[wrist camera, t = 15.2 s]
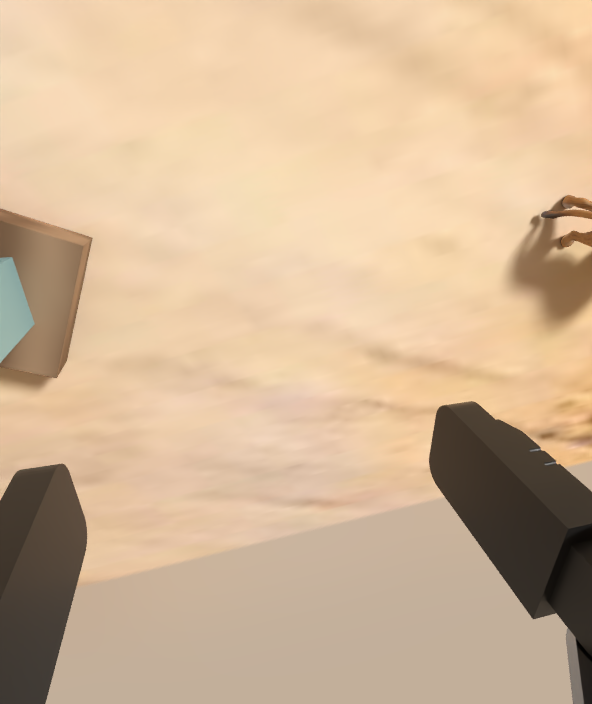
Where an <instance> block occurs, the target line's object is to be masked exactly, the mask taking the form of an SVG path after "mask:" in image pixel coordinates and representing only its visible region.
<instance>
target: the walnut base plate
mask: <svg viewBox="0 0 592 704" xmlns="http://www.w3.org/2000/svg"><path fill="white" fill-rule="evenodd" d="M91 242H92V238H91V237H88V236H85V235H82V234H78V233H75V232H72V231H69V230H66V229H63V228H59V227H56V226H53V225H50V224H47V223H44V222H41V221H37V220H34V219H31V218H28V217H25V216H22V215H19V214H15V213H12V212H9V211H6V210H3V209H0V258H6V257H12V258H13V261H14V264H15V267H16V270H17V273H18V276H19V279H20V282H21V285H22V288H23V291H24V294H25V297H26V300H27V303H28V306H29V309H30V312H31V315H32V317H33V320H34V323H35V324H34V325H33V327H32V328H31V329H30V330H29V331H28V332H27V333H26V334H25V336H24V337H23V338H22V339H21V340H20V341H19V342H18V343H17V345H16V346H15V347H14V348H13V349H12V350H11V351H10V352H9V354H8V355H7V356H6V357H5V358H4V359H3V360H2V361H1V363H0V367H4V368H9V369H13V370H18V371H23V372H28V373H33V374H38V375H43V376H48V377H53V378H57V377H58V375H59V373H60V371H61V370H62V368H63V366H64V365H65V363H66V361H67V357H68V352H69V347H70V342H71V337H72V333H73V328H74V323H75V318H76V313H77V309H78V304H79V299H80V294H81V290H82V285H83V280H84V275H85V270H86V266H87V261H88V256H89V251H90V246H91Z"/></svg>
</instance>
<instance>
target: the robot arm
mask: <svg viewBox="0 0 592 704" xmlns="http://www.w3.org/2000/svg"><path fill="white" fill-rule="evenodd" d="M429 465H430V470H431V474H432V477H433V479H434V481H435V483H436V485H437V486H438V488H439V489H440V491H441V492H442V493H443V495H444V496H445V497H446V499H447V500H448V502H449V503H450V504H451V506H452V507H453V509H454V510H455V511H456V513H457V514H458V516H459V517H460V518H461V520H462V521H463V523H464V524H465V525H466V527H467V528H468V529H469V531H470V532H471V534H472V535H473V536H474V538H475V539H476V541H477V542H478V543H479V545H480V546H481V547H482V549H483V550H484V552H485V553H486V554H487V556H488V557H489V559H490V560H491V561H492V563H493V564H494V565H495V567H496V568H497V570H498V571H499V573H500V574H501V575H502V577H503V578H504V579H505V581H506V582H507V583H508V585H509V586H510V588H511V589H512V590H513V592H514V593H515V595H516V596H517V598H518V599H519V600H520V602H521V603H522V604H523V606H524V607H525V608H526V610H527V611H528V613H529V614H530V615H531V617H532V618H533V619H536V618H540V617H544V616H547V615H551V614H555V613H557V614H558V616H559V617H560V618H561V619H562V621H563V622H564V623H565V625H566V626H567V627H568V629H567V634H566V644H567V653H568V662H569V671H570V680H571V689H572V698H573V704H592V492H591V491H590V490H589V489H588V488H587V487H586V486H584V485H583V484H582V483H581V482H580V481H579V480H578V479H576V478H575V477H574V476H573V475H572V474H571V473H570V472H568V471H567V470H566V469H565V468H564V467H563V466H561V465H560V464H558V465H557V464H556V460H554V459H553V458H552V457H551V456H550V455H549V454H548V453H546V452H545V451H541V449H540V447H539V446H538V445H537V444H536V443H535V442H534V441H533V440H531V439H530V438H529V437H528V436H527V435H526V434H524V433H523V432H522V431H520V430H518V429H516V428H514V427H512V426H511V425H509V424H507V423H505V422H503V421H501V420H495V419H494V418H493V417H492V416H491V415H490V414H489V413H488V412H486V411H485V410H484V409H483V408H482V407H481V406H480V405H479V404H477V403H476V402H472V401H471V402H464V403H457V404H450V405H444V406H441V407H439V409H438V410H437V413H436V419H435V425H434V431H433V438H432V444H431V450H430V456H429ZM86 545H87V527H86V521H85V517H84V514H83V511H82V508H81V505H80V502H79V499H78V496H77V494H76V491H75V488H74V485H73V482H72V479H71V476H70V473H69V470H68V468H67V467H66V466H65V465H64V464H57V465H50V466H43V467H37V468H30V469H23V470H19V471H18V472H17V473H16V474H15V475H14V477H13V478H12V480H11V482H10V484H9V486H8V488H7V489H6V491H5V493H4V495H3V497H2V499H1V500H0V704H45V702H46V699H47V695H48V692H49V687H50V684H51V680H52V676H53V673H54V669H55V665H56V661H57V657H58V653H59V650H60V646H61V642H62V639H63V635H64V631H65V627H66V623H67V620H68V616H69V612H70V608H71V605H72V601H73V597H74V593H75V589H76V586H77V582H78V578H79V574H80V571H81V567H82V563H83V559H84V555H85V551H86Z"/></svg>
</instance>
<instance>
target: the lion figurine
mask: <svg viewBox="0 0 592 704" xmlns="http://www.w3.org/2000/svg"><path fill="white" fill-rule="evenodd" d="M563 206H564V207H565V208H572V207H573V206H576V207H578V208H582V209H586V210H589V211H584V210H564V211H545V212H543V213H542V214H541V217H544V218H552V219H554V218H557V217H562V216H577V217H584V218H589V219H592V202H591V201H589V200H587V199H585V198H576V197H574V196H571V195H567V196H566V197H565V198H564V200H563ZM590 211H591V212H590ZM574 241H579V242H581V243H583V244H586V245H588V246H591V247H592V231H591V232H587V233H579V232H577V231H571V232H570V233H568V234H567V235H565V236H564V237H563V238H562V240H561V245H562V246H563V247H569V246H571V245H572V244H573V242H574Z"/></svg>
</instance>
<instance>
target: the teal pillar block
mask: <svg viewBox="0 0 592 704" xmlns="http://www.w3.org/2000/svg"><path fill="white" fill-rule="evenodd" d="M34 324H35V323H34V320H33V317H32V315H31V312H30V309H29V306H28V303H27V300H26V297H25V294H24V291H23V288H22V285H21V282H20V279H19V276H18V273H17V270H16V267H15V264H14V261H13V258H12V257H6V258H0V363H1V361H2V360H3V359H4V358H5V357H6V356H7V355H8V354H9V352H10V351H11V350H12V349H13V348H14V347H15V346H16V345H17V343H18V342H19V341H20V340H21V339H22V338H23V337H24V336H25V334H26V333H27V332H28V331H29V330H30V329H31V328H32V327H33V325H34Z"/></svg>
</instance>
